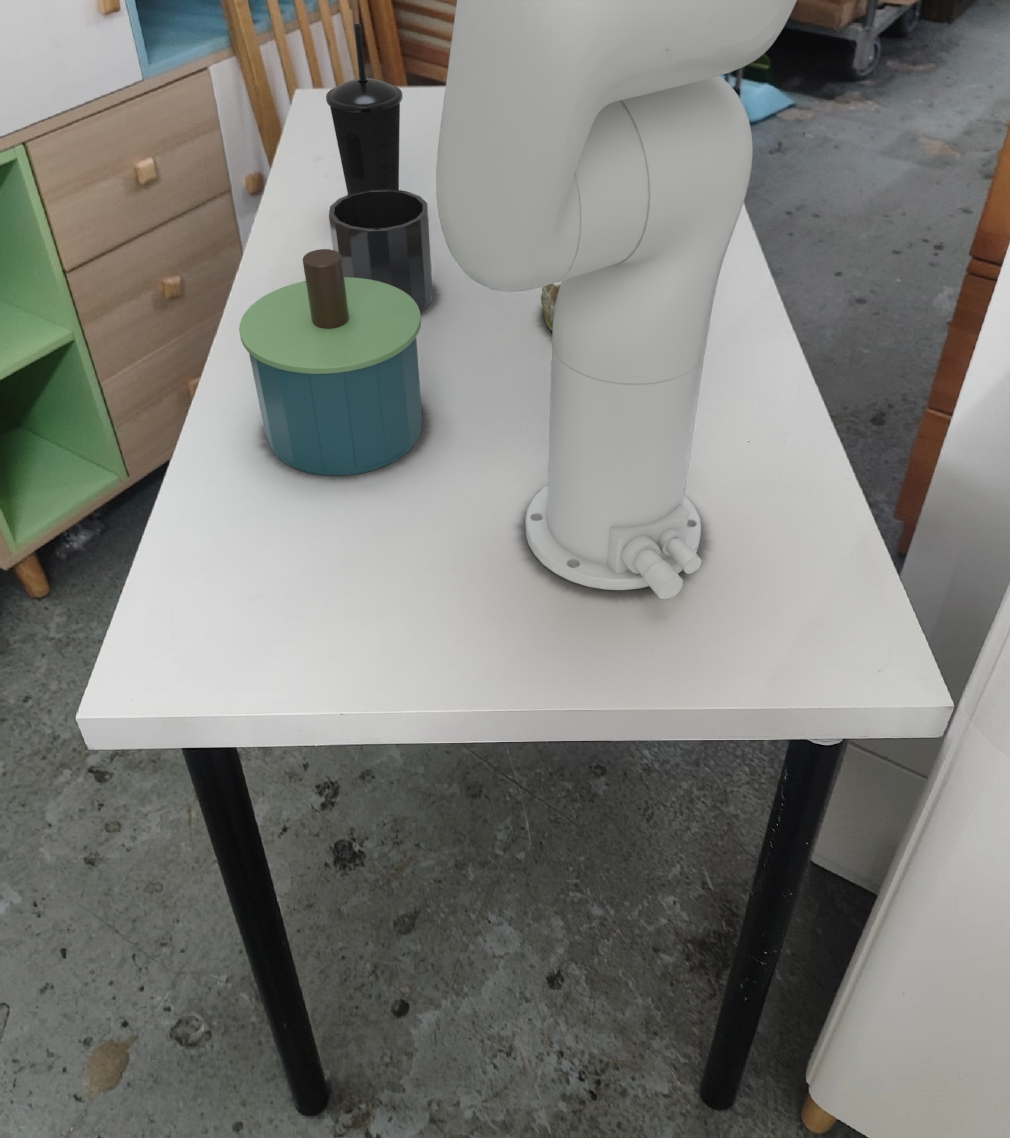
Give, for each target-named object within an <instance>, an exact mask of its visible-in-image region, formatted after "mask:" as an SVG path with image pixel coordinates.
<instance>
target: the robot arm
mask: <svg viewBox="0 0 1010 1138" xmlns="http://www.w3.org/2000/svg"><path fill="white" fill-rule="evenodd" d="M797 1H798V0H456V6H455V13H454V21H453V28H452V37H451V42H450V43H451V44H450V50H449V51H450V52H449V58H448V66H447V67H448V68H447V73H446V81H445V87H444V88H445V89H444V90H445V91H444V97H443V104H442V111H441V119H440V127H439V128H440V129H439V134H438V136H439V137H438V143H437V152H436V154H437V155H436V167H435V191H436V192H435V193H436V194H435V195H436V206H437V207H436V208H437V212H438V219H439V224H440V229H441V231H442V234H443V238H444V241H445V243H446V246H447V248H448V251H449V253H450V255H451V256H452V258H453V259H454V261H455V262H456V264H457V265H458V268H459V269H460V270H461V271H462V272H463V273H464V274H465V275H466V276H468V278H470V279H471V280H473V281H474V282H476V284H479V285H480V286H483V287H484V288H487V289H490V290H492V291H497V292H506V293H515V292H524V291H529V290H535V289H538V288H542V287H544V286H546V285H549V284H554V285H555V284H558V283H560V282H561V283H560V284H561V285H560V284H559V285H560V289H559V292H558V295H557V300H556V304H555V310H554V318H553V331H552V335H551V336H552V340H551V363H550V395H549V396H550V398H549V399H550V401H549V432H548V433H549V436H548V439H549V440H548V467H547V468H548V470H547V471H548V473H547V484H546V485H544V486H543V487H542V488H541V489H540V490H539V491H537V493H535V495H534V496H533V497H532V499H531V501H530V503H529V504H528V507H527V509H526V514H525V521H524V522H525V537H526V541H527V544H528V546H529V548H530V550H531V552H532V553H533V555H534V556H535V557H536V558H537V559H538V561H540V563H541V564H542V565H543V566H545V567H546V568H547V569H549V570H550V571H551V572H553V573H554V574H555V575H557V576H560V577H561V578H564V579H565V580H567V581H570V582H572V583H575V584H579V585H581V586H584V587H588V588H594V589H599V590H610V591H627V590H629V591H630V590H638V589H643V588H647V587H649V588H650V589H651V590H652V591H653V592H654V593H655V595H656V596H657V597H658V598H659V599H660V600H663V601H667V600H670V599H672V598H674V597H675V596H677V595H678V594H679V593H680V592H681V590H682V588H683V585H684V579H683V578H682V577H681V576H680V575H679V574H680V573H682V571H683V572H684V573H685V574H687V575H688V574H693V573H695V572H697V571H698V570H699V569H700V568H701V566H702V563H703V562H702V559H701V557H700V556H699V555H698V554H697V553H698V550H699V547H700V542H701V535H702V522H701V517H700V515H699V513H698V510H697V508H696V506H695V504H693V502H692V501H691V500H690V499H689V498H688V496H687V495H686V493H685V492H686V487H687V479H688V472H689V466H690V459H691V452H692V445H693V438H694V431H695V424H696V417H697V410H698V405H699V397H700V390H701V384H702V375H703V369H704V361H705V355H706V350H707V346H708V345H707V344H708V338H709V332H710V331H709V330H710V324H711V318H712V313H713V305H714V300H715V296H716V291H717V286H718V282H719V277H720V274H721V270H722V266H723V263H724V259H725V257H726V253H727V251H728V247H729V244H730V241H731V239H732V236H733V234H734V231H735V228H736V225H737V223H738V220H739V217H740V215H741V211H742V209H743V205H744V203H745V199H746V196H747V192H748V188H749V183H750V179H751V174H752V167H753V165H752V164H753V157H754V155H753V153H754V152H753V151H754V150H753V149H754V148H753V136H752V128H751V123H750V119H749V115H748V113H747V110H746V107H745V105H744V104H743V102H742V100H741V98H740V96H739V94H738V93H737V92H736V90H735V89H734V88H733V87H732V86H731V84H730V83H729V82H727V80H726V79H724V78H723V76H722V75H726V74H730V73H732V72H734V71H737V70H739V69H741V68H744V67H746V66H748V65H750V64H752V63H754V62H755V61H757V60H758V59H759V58H760V57H762V56H763V55H764V54H765V53H766V52H767V51H768V50H769V49H770V48H771V47H772V46H773V44H774V43H775V41H777V38H778V37H779V35H780V34H781V33H782V30H783V29H784V27H785V25H786V24H787V21H788V20H789V18H790V16H791V14H792V12H793V9H794V7H795V5H796V4H797Z"/></svg>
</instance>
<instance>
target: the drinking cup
mask: <svg viewBox="0 0 1010 1138" xmlns="http://www.w3.org/2000/svg"><path fill="white" fill-rule="evenodd" d="M353 30H354V39H355V50H356V60H357V69H358V78H354V79H350V80H347V81H345V82H342V83H340V84H339V85H337V86H335V87H333V88H331V89H330V90H329V91H327V92H326V95H325V100H326V104H327V105H328V106H329V108H330V113H331V117H332V118H331V119H332V123H333V128H334V133H335V137H336V143H337V147H338V153H339V157H340V163H341V168H342V172H343V177H344V183H345V187H346V192H347V195H349V194H351V193H354V192H360V191H365V190H370V189H395V190H400V189H399V188H400V130H401V129H400V127H401V125H400V124H401V123H400V118H401V102H402V101H403V91H402V89H401V88H399V87H398V86H396V85H395V84H392V83H387V82H386V81H384V80H380V79H376V78H369V77H367V73H366V64H365V52H364V41H363V31H362V24H361V23H355V24H353Z"/></svg>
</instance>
